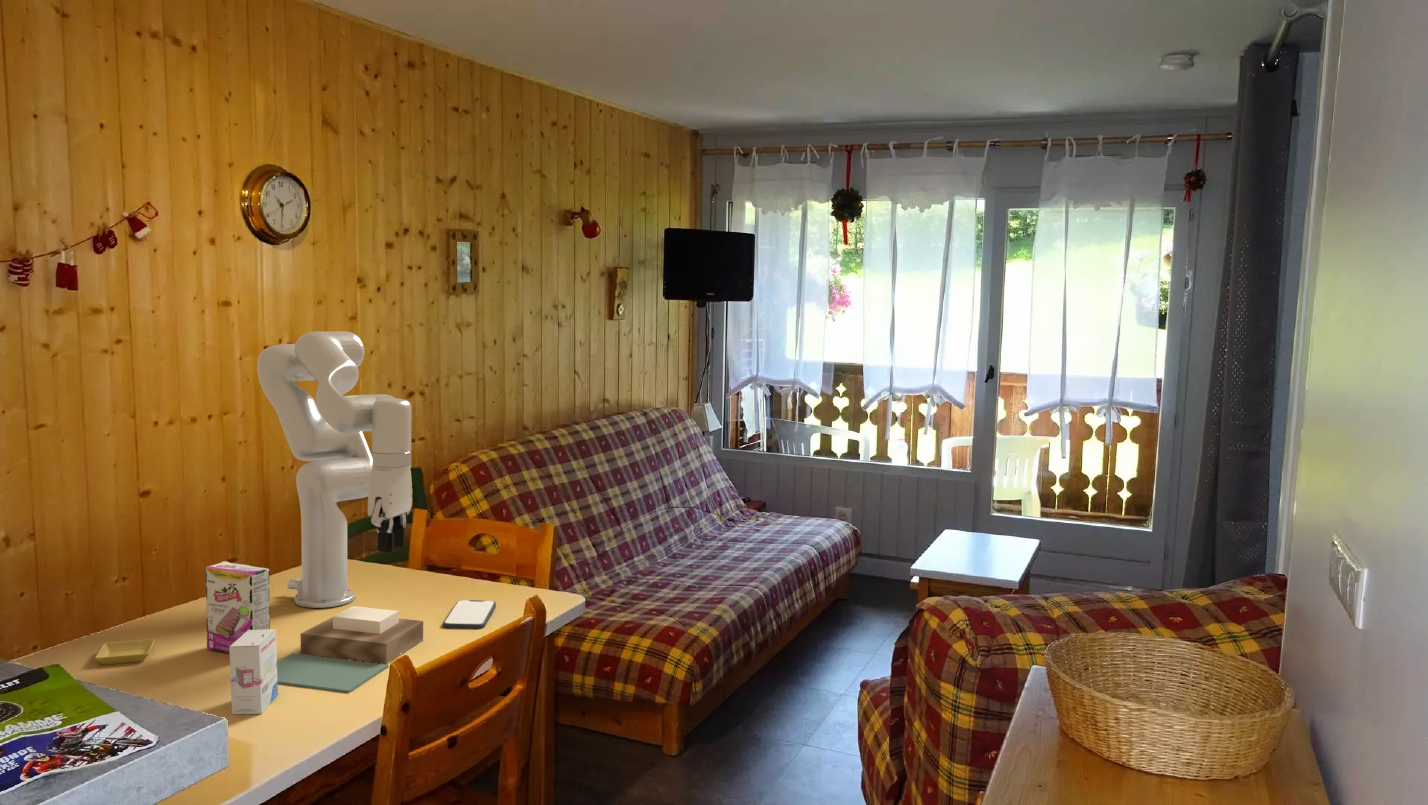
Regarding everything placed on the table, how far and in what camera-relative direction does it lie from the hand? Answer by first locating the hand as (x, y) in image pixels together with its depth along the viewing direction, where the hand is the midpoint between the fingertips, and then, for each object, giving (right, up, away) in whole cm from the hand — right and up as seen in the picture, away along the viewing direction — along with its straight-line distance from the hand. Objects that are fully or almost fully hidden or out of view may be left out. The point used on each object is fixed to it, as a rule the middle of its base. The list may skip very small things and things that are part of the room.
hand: (391, 548), depth 210 cm
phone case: (+13, -17, +13) cm, 25 cm away
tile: (-3, -13, -8) cm, 15 cm away
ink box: (-11, -21, -37) cm, 44 cm away
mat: (-6, -20, -22) cm, 30 cm away
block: (-3, -18, -8) cm, 20 cm away
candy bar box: (-25, -18, -13) cm, 34 cm away
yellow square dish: (-44, -18, -18) cm, 51 cm away
